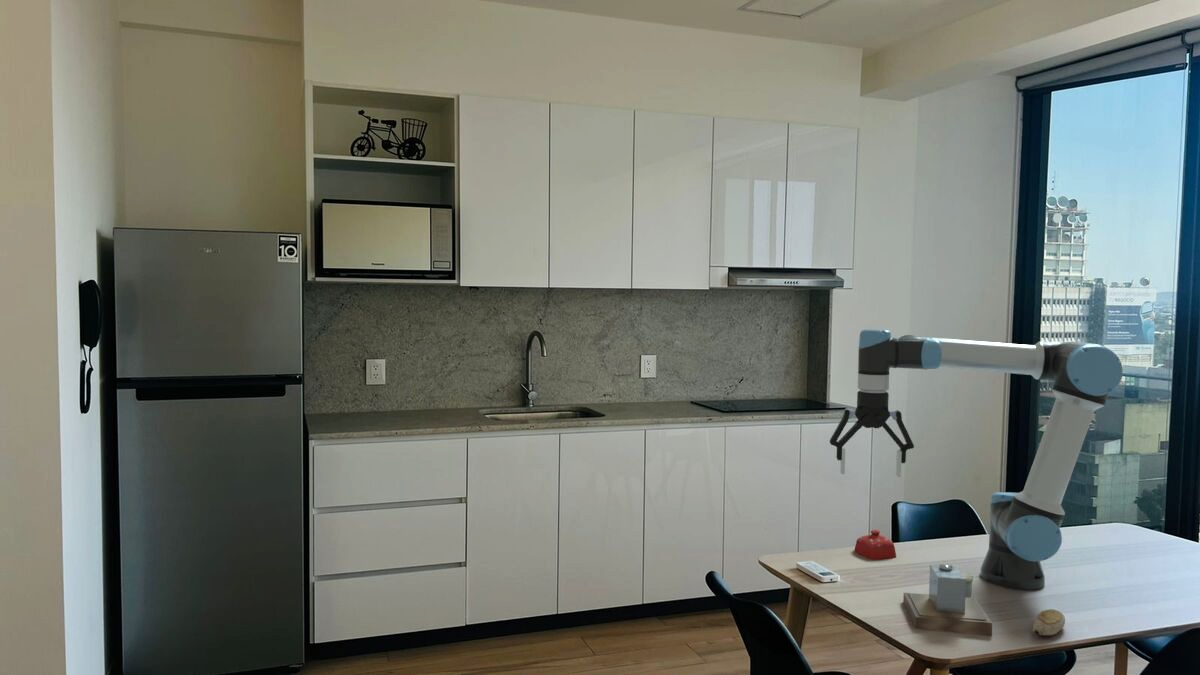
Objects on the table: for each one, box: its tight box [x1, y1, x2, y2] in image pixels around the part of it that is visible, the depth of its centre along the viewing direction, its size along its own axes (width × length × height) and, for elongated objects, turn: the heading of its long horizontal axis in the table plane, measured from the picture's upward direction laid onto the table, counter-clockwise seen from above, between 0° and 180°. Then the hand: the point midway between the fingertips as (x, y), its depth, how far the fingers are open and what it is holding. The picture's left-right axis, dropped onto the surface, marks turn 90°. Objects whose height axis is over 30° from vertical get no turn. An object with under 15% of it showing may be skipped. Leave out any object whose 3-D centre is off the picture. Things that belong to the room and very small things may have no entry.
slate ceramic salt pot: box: [961, 571, 974, 598], centre depth 213 cm, size 5×5×7 cm
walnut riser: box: [902, 592, 993, 637], centre depth 202 cm, size 16×16×3 cm
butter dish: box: [854, 529, 897, 561], centre depth 247 cm, size 12×12×8 cm
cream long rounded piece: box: [1032, 608, 1066, 637], centre depth 195 cm, size 5×14×4 cm, turn 137°
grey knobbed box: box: [928, 563, 966, 614], centre depth 201 cm, size 9×6×9 cm, turn 170°
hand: (870, 474), depth 222 cm, fingers open, 13 cm apart
